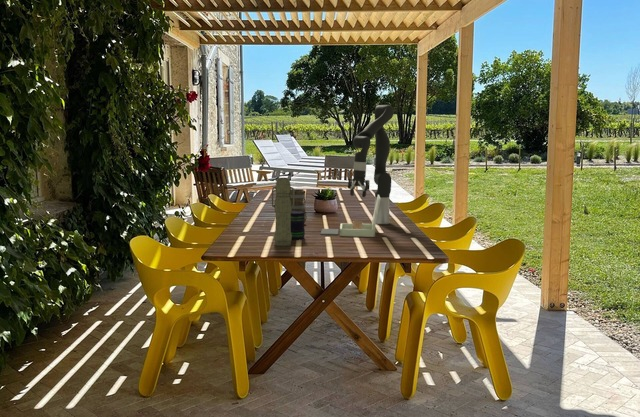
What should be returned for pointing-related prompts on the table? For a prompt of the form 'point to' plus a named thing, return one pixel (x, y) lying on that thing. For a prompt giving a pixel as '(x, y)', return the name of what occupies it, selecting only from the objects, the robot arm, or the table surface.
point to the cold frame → (366, 230)
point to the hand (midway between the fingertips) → (357, 196)
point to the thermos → (283, 211)
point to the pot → (357, 224)
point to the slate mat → (329, 231)
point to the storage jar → (297, 225)
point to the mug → (298, 200)
